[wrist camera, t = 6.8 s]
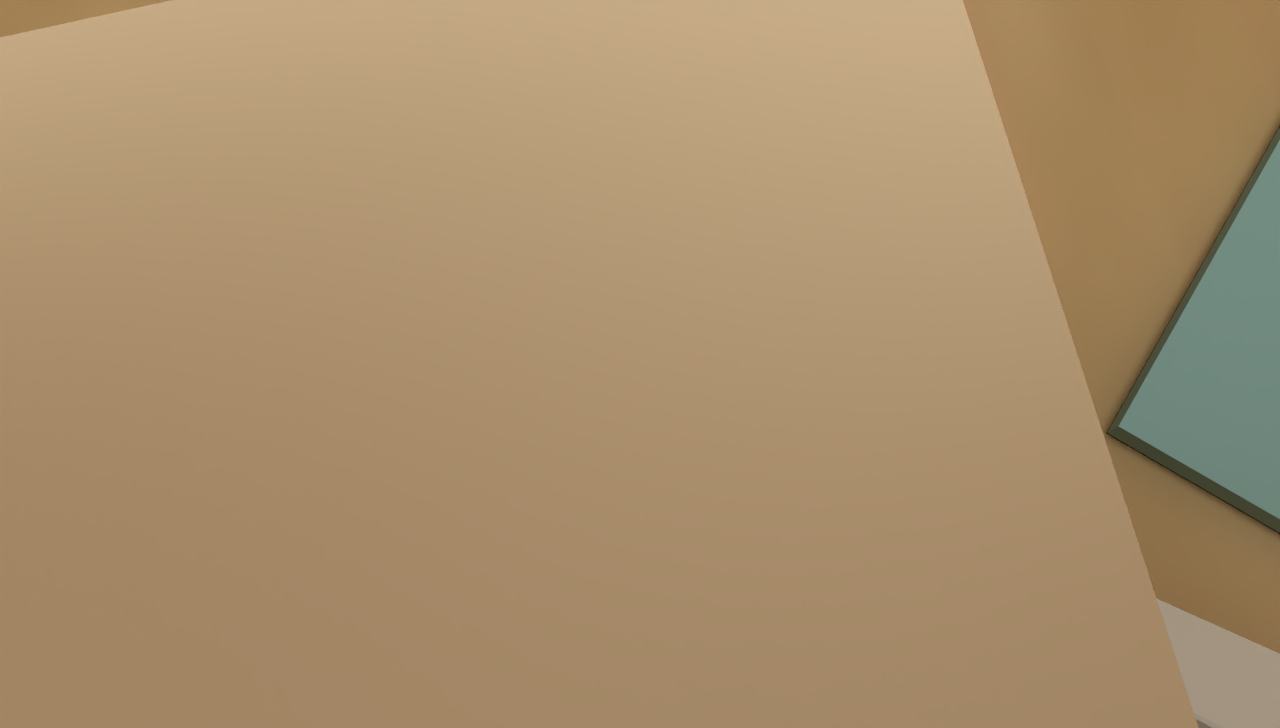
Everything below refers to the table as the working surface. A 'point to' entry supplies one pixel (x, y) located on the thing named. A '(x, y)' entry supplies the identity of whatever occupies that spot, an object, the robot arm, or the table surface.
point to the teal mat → (1222, 364)
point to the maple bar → (544, 378)
